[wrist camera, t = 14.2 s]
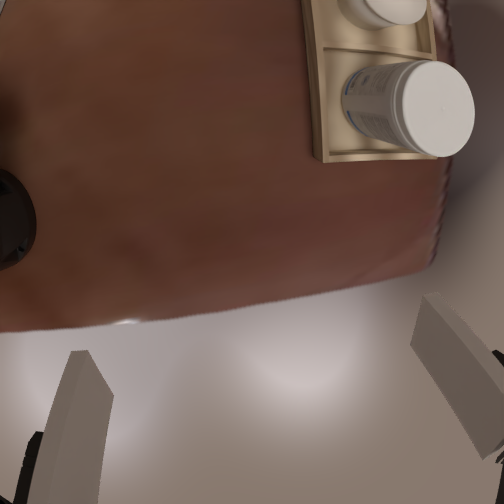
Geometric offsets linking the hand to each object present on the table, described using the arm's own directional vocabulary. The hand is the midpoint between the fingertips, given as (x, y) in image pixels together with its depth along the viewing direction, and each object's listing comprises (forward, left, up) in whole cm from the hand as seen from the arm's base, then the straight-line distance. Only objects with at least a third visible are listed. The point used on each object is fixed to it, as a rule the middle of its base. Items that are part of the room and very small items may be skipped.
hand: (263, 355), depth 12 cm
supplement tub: (+20, +8, -31) cm, 37 cm away
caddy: (+20, +15, -31) cm, 40 cm away
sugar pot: (+20, +21, -31) cm, 42 cm away
